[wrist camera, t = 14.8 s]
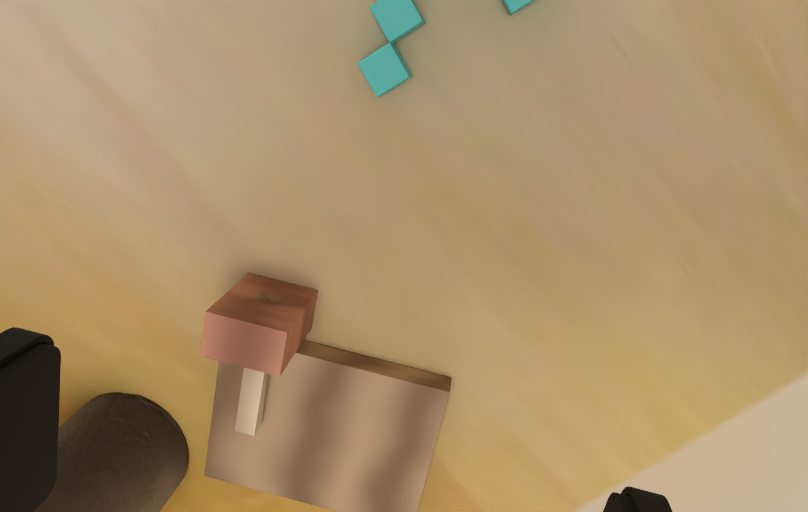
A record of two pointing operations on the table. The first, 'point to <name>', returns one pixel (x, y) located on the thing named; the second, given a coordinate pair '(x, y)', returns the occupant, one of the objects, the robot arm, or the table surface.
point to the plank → (332, 431)
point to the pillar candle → (117, 458)
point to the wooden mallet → (257, 336)
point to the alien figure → (397, 22)
